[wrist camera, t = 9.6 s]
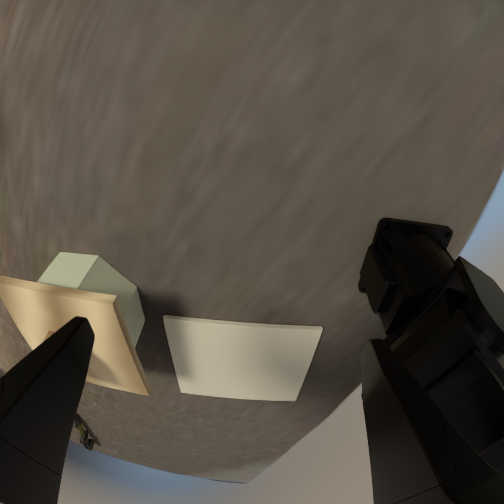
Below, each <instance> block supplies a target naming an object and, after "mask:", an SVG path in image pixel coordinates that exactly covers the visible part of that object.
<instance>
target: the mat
mask: <svg viewBox="0 0 504 504" xmlns="http://www.w3.org/2000/svg"><path fill="white" fill-rule="evenodd" d="M163 321H164V326H165V330H166V335H167V339H168V343H169V347H170V352H171V356H172V360H173V364H174V368H175V371H176V375H177V379H178V383H179V386H180V390H181V392H182V393H189V394H197V395H206V396H215V397H225V398H237V399H252V400H273V401H296V399H297V396H298V394H299V392H300V389H301V387H302V384H303V382H304V379H305V377H306V374H307V371H308V369H309V366H310V364H311V361H312V358H313V356H314V353H315V350H316V347H317V345H318V342H319V339H320V336H321V334H322V331H323V328H322V326H297V325H277V324H260V323H246V322H233V321H221V320H210V319H199V318H190V317H180V316H171V315H164V316H163Z"/></svg>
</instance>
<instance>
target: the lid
mask: <svg viewBox="0 0 504 504" xmlns="http://www.w3.org/2000/svg"><path fill="white" fill-rule="evenodd" d="M0 297H1V299H2V301H3V302H4V304H5V306H6V308H7V310H8V311H9V313H10V315H11V317H12V318H13V320H14V322H15V323H16V325H17V327H18V328H19V330H20V332H21V333H22V335H23V336H24V338H25V339H26V341H27V342H28V344H29V345H30V347H31V348H32V350H34V349H35V348H36V347H37V346H39V345H40V344H41V343H42V342H44V341H45V340H46V339H47V338H48V337H50V336H51V335H52V334H53V333H55V332H56V331H57V330H58V329H60V328H61V327H62V326H63V325H65V324H66V323H67V322H68V321H70V320H71V319H72V318H74V317H75V316H81V317H86V318H87V319H88V321H89V323H90V325H91V327H92V329H93V331H94V334H95V341H94V345H93V350H92V354H91V359H90V363H89V368H88V373H87V377H86V381H87V382H90V383H94V384H98V385H102V386H106V387H110V388H114V389H119V390H123V391H128V392H132V393H137V394H142V395H147V396H149V394H150V390H151V388H150V385H149V383H148V381H147V378H146V376H145V373H144V371H143V368H142V366H141V363H140V361H139V358H138V356H137V353H136V350H135V348H134V345H133V342H132V340H131V337H130V334H129V331H128V328H127V325H126V322H125V319H124V316H123V313H122V310H121V307H120V304H119V301H118V298H117V295H110V294H103V293H96V292H89V291H83V290H77V289H70V288H64V287H58V286H52V285H47V284H41V283H36V282H30V281H25V280H20V279H15V278H10V277H5V276H0Z"/></svg>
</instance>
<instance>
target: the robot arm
mask: <svg viewBox="0 0 504 504" xmlns="http://www.w3.org/2000/svg"><path fill="white" fill-rule="evenodd" d="M385 224H388V225H387V226H386V227H383V226H384V225H385ZM447 232H448V233H447ZM446 233H447V234H446ZM445 234H446V235H445ZM452 234H453V231H452V230H451V229H450V227H448V226H442V225H436V224H429V223H422V222H415V221H408V220H400V219H393V218H382V219H381V220H380V221H379V223H378V225H377V229H376V232H375V235H374V238H373V242H372V244H371V245H370V246H369V247H368V250H367V253H366V256H365V259H364V262H363V265H362V268H361V271H360V276H361V278H360V281H359V283H358V288H359V291H360V292H361V293H367V296H368V299H369V302H370V305H371V308H372V311H373V312H374V313H375V314H379V315H380V318H381V321H382V324H383V327H384V330H385V333H386V335H388V336H387V337H386V338H385V339H384V340H382V339H370V340H369V341H368V343H367V345H366V347H365V349H364V351H363V353H362V355H361V375H362V400H363V409H364V415H365V423H366V430H367V438H368V446H369V455H370V464H371V474H372V486H373V500H374V504H504V293H503V291H502V290H501V289H500V287H499V286H498V285H497V284H496V282H495V281H494V280H493V279H492V278H490V277H489V276H488V275H486V274H485V273H483V272H482V271H481V270H479V269H478V268H477V267H475V266H474V265H472V264H471V263H469V262H468V261H466V260H465V259H464V258H462V257H461V256H459V257H458V258H457V259H456V260H455V261H454V259H453V258H452V256H451V255H450V254H449V252H448V251H447V250H446V249H447V247H448V244H449V242H450V240H451V237H452ZM363 286H364V287H363ZM94 341H95V334H94V331H93V329H92V327H91V325H90V323H89V321H88V319H87V318H86V317H81V316H75V317H74V318H72V319H71V320H70V321H68V322H67V323H66V324H65V325H63V326H62V327H61V328H60V329H58V330H57V331H56V332H55V333H53V334H52V335H51V336H50V337H48V338H47V339H46V340H45V341H44V342H42V343H41V344H40V345H39V346H37V347H36V348H35V349H34V350H33V351H31V352H30V353H29V354H28V355H27V356H26V357H24V358H23V359H22V360H21V361H20V362H18V363H17V364H16V365H15V366H14V367H13V368H11V369H10V370H9V371H8V372H7V373H6V374H5V375H3V376H2V377H1V378H0V504H57V502H58V495H59V488H60V483H61V478H62V476H61V475H62V472H63V467H64V462H65V457H66V452H67V448H68V443H69V439H70V435H71V431H72V427H73V423H74V419H75V416H76V412H77V408H78V405H79V401H80V398H81V394H82V391H83V388H84V384H85V381H86V377H87V373H88V368H89V363H90V359H91V354H92V350H93V345H94Z"/></svg>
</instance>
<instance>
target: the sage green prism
mask: <svg viewBox="0 0 504 504" xmlns="http://www.w3.org/2000/svg"><path fill="white" fill-rule="evenodd" d="M37 283H41V284H47V285H52V286H58V287H64V288H70V289H77V290H83V291H89V292H96V293H103V294H110V295H117V298H118V301H119V304H120V307H121V310H122V313H123V316H124V319H125V322H126V325H127V328H128V331H129V334H130V337H131V340H132V342H133V345H134V348H135V347H136V344H137V341H138V339H139V336H140V333H141V330H142V328H143V325H144V322H145V317H144V313H143V310H142V306H141V302H140V298H139V294H138V290H137V286H135V285H134V284H133V283H131V282H130V281H129V280H128V279H126V278H125V277H124V276H123V275H122V274H120V273H119V272H118V271H117V270H115V269H114V268H113V267H112V266H111V265H109V264H108V263H107V262H106V261H105V260H103V259H102V258H101V257H100V256H99V255H87V254H77V253H67V252H60V253H59V254H58V255H57V256H56V258H55V259H54V260H53V261H52V263H51V264H50V265H49V267H48V268H47V269H46V270H45V272H44V273H43V274H42V276H41V277H40V278H39V280H38V281H37Z"/></svg>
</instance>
